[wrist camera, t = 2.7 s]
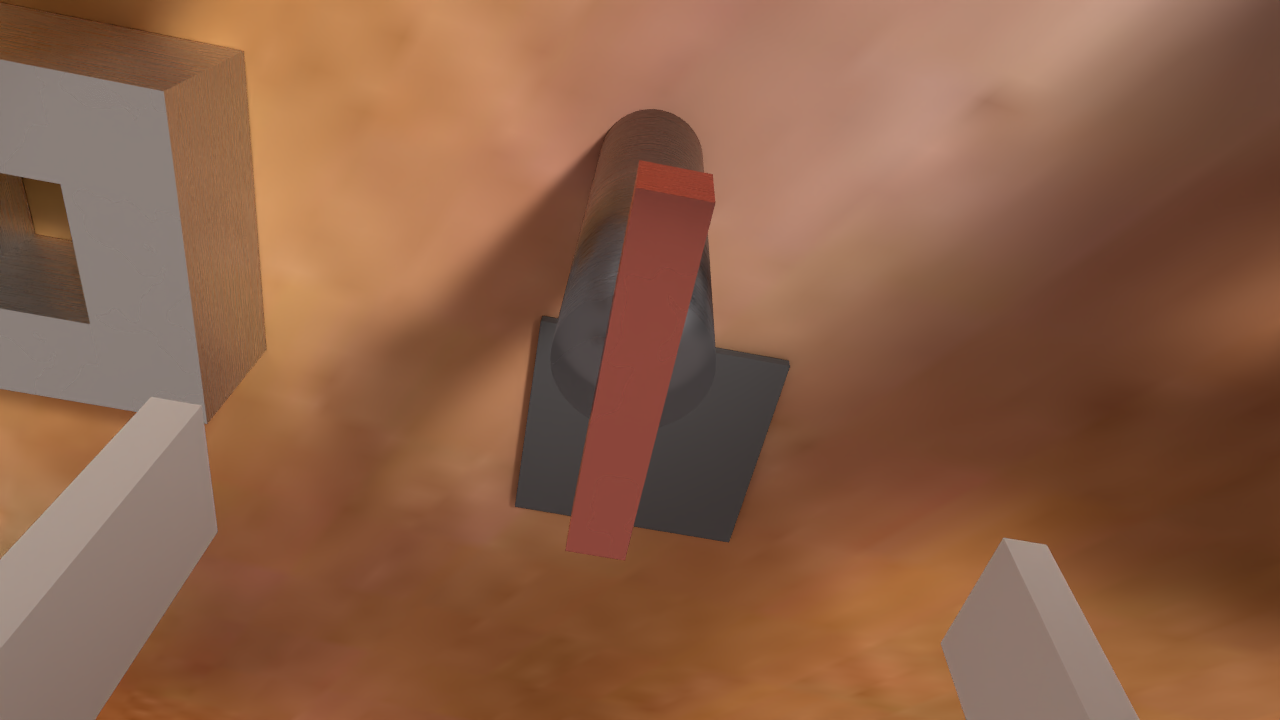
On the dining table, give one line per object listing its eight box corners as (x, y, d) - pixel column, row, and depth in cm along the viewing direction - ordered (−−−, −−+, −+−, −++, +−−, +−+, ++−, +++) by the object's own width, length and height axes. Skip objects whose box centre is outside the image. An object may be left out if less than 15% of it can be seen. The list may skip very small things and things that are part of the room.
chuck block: (-134, -25, 26) (-287, 3, 22) (243, 51, 27) (163, 91, 23) (-36, 296, 33) (-141, 364, 29) (266, 349, 34) (207, 424, 29)
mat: (542, 315, 32) (541, 320, 32) (788, 360, 33) (790, 366, 33) (516, 500, 38) (514, 506, 37) (728, 536, 38) (729, 542, 38)
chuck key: (623, 15, 26) (572, 175, 14) (732, 38, 26) (776, 214, 14) (581, 265, 31) (518, 542, 19) (675, 282, 31) (671, 568, 19)
